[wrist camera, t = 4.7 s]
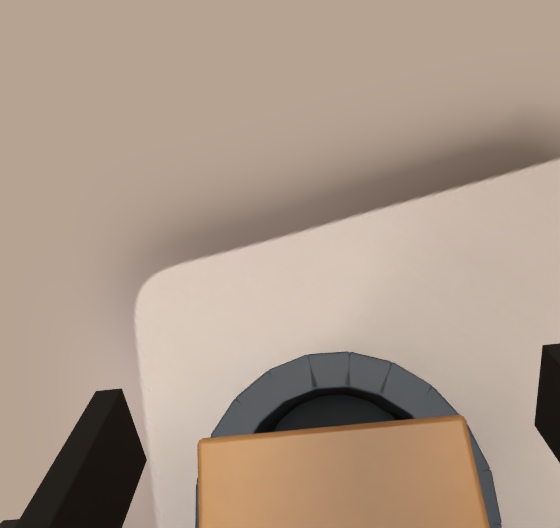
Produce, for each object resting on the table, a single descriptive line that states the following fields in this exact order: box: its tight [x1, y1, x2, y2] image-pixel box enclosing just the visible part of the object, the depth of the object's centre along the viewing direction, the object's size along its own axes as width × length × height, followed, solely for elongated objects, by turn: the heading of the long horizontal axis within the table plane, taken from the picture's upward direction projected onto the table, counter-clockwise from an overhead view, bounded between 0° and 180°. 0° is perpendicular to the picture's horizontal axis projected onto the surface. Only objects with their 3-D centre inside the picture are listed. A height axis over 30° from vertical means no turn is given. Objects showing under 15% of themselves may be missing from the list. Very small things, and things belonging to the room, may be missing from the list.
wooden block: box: [198, 415, 490, 528], centre depth 14 cm, size 4×4×18 cm
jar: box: [195, 352, 502, 528], centre depth 19 cm, size 9×9×10 cm
